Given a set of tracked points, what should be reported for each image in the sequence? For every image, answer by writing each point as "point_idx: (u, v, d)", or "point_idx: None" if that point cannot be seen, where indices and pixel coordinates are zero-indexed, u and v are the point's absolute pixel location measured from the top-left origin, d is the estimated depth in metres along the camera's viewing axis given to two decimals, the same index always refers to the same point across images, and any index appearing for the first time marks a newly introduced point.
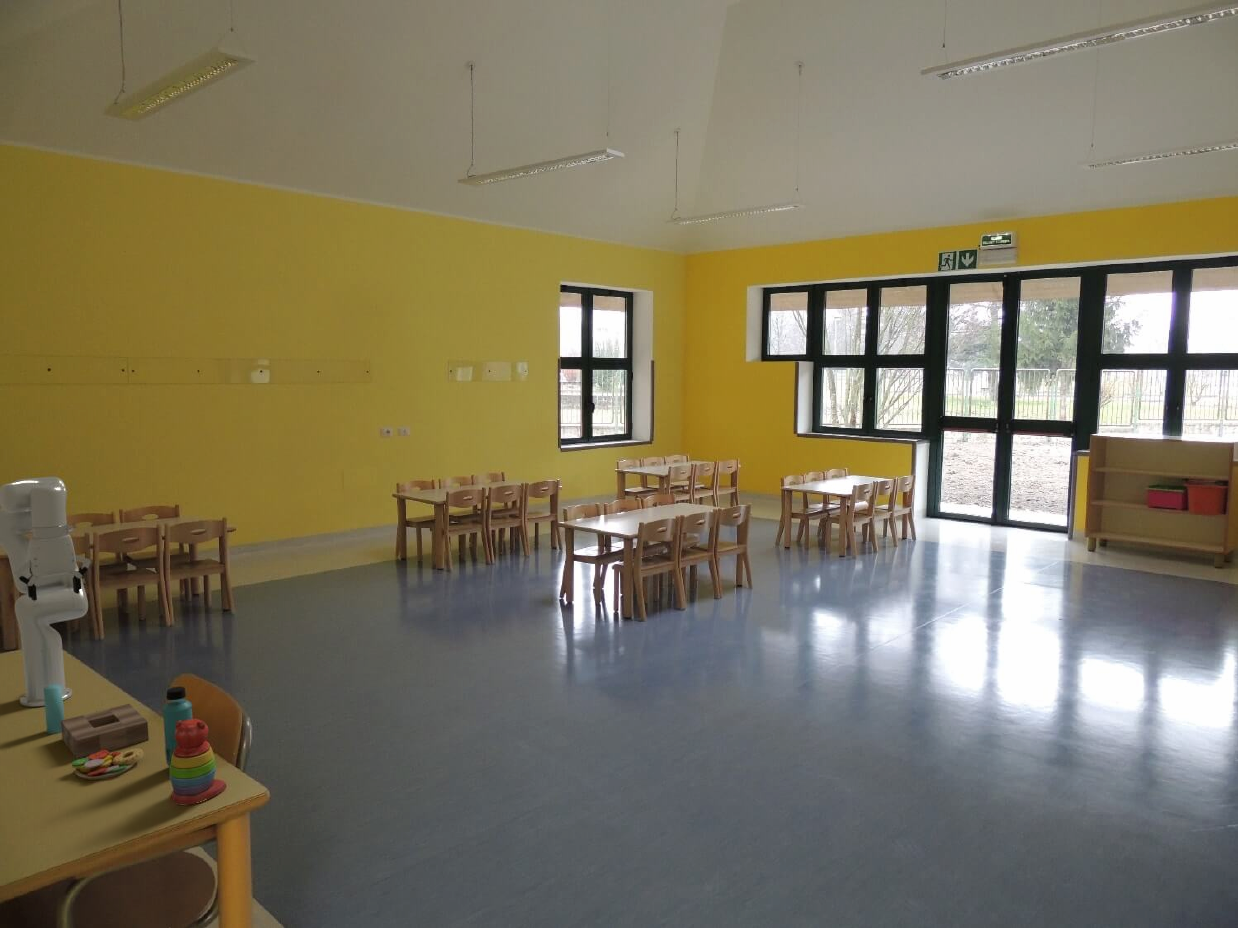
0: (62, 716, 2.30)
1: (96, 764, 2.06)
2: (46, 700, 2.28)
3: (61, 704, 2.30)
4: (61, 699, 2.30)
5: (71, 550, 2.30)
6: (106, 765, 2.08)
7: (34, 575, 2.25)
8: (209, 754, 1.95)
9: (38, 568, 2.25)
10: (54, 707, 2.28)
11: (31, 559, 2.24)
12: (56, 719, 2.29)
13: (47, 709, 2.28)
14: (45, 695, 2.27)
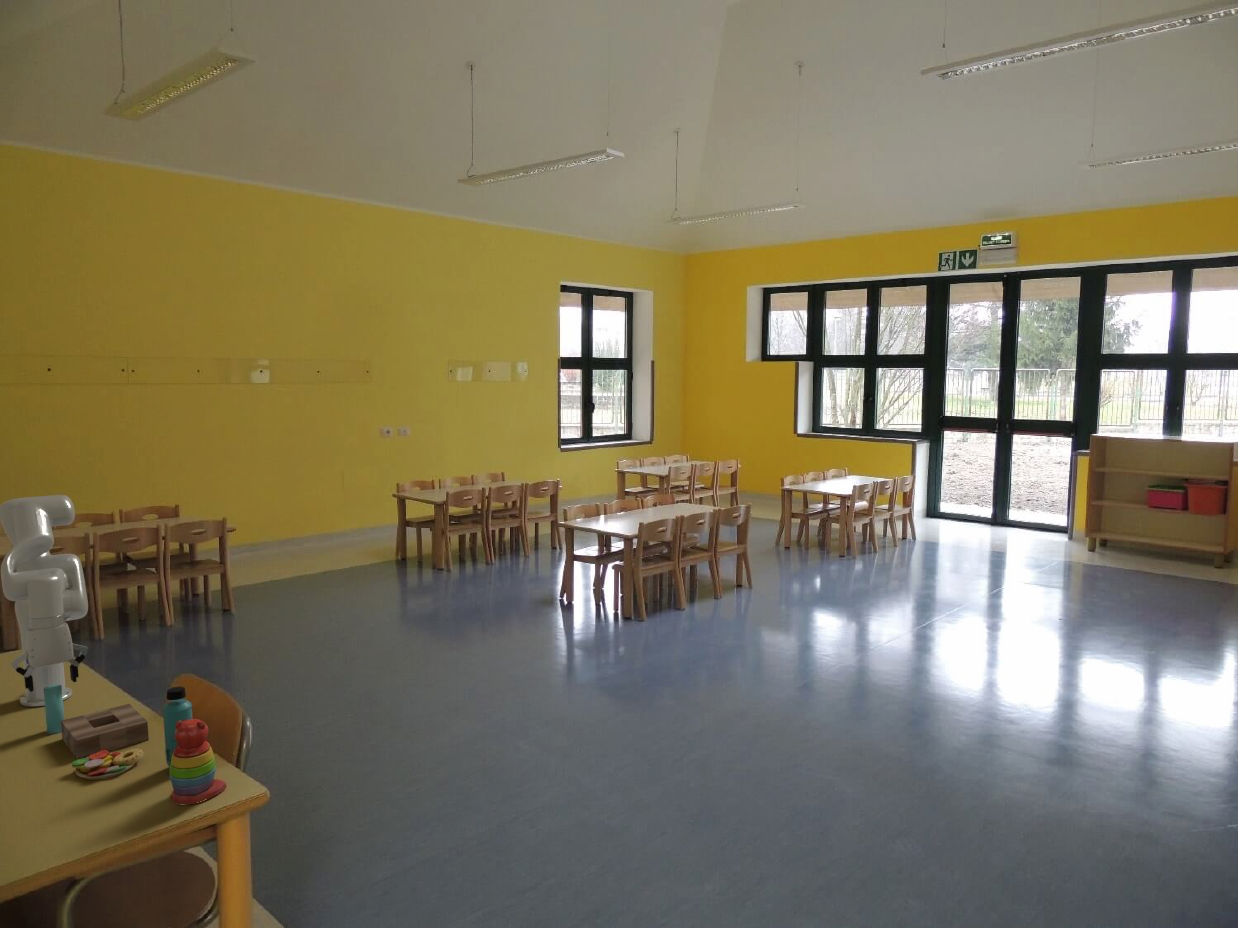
0: (62, 716, 2.30)
1: (96, 764, 2.06)
2: (46, 700, 2.28)
3: (61, 704, 2.30)
4: (61, 699, 2.30)
5: (68, 639, 2.28)
6: (106, 765, 2.08)
7: (31, 666, 2.23)
8: (209, 754, 1.95)
9: (35, 659, 2.23)
10: (54, 707, 2.28)
11: (28, 650, 2.23)
12: (56, 719, 2.29)
13: (47, 709, 2.28)
14: (45, 695, 2.27)
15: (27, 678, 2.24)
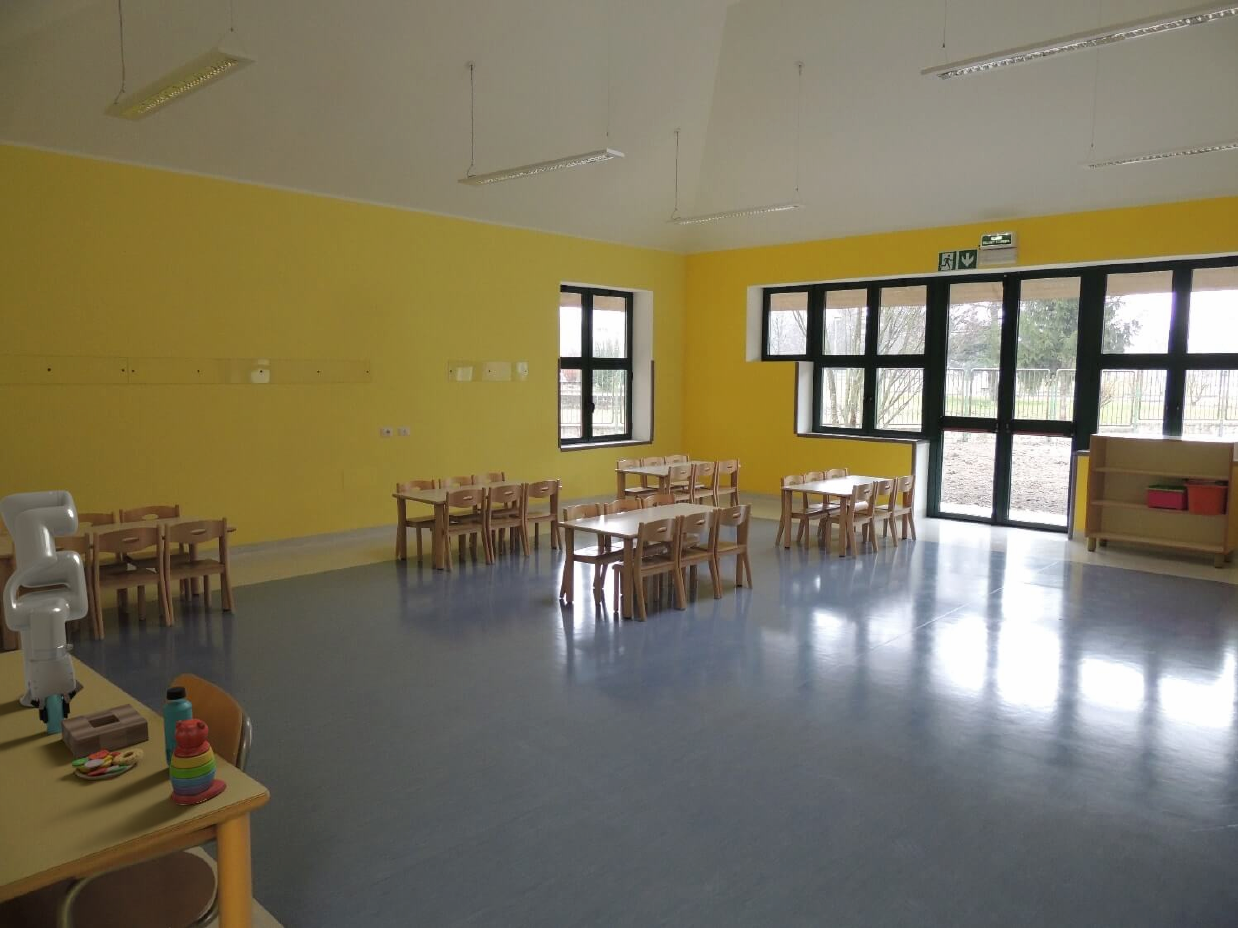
0: (62, 716, 2.30)
1: (96, 764, 2.06)
2: (46, 700, 2.28)
3: (61, 704, 2.30)
4: (61, 699, 2.30)
5: (70, 669, 2.30)
6: (106, 765, 2.08)
7: (33, 697, 2.25)
8: (209, 754, 1.95)
9: (37, 690, 2.25)
10: (54, 707, 2.28)
11: (30, 681, 2.24)
12: (56, 719, 2.29)
13: (47, 709, 2.28)
14: None
15: (41, 710, 2.27)
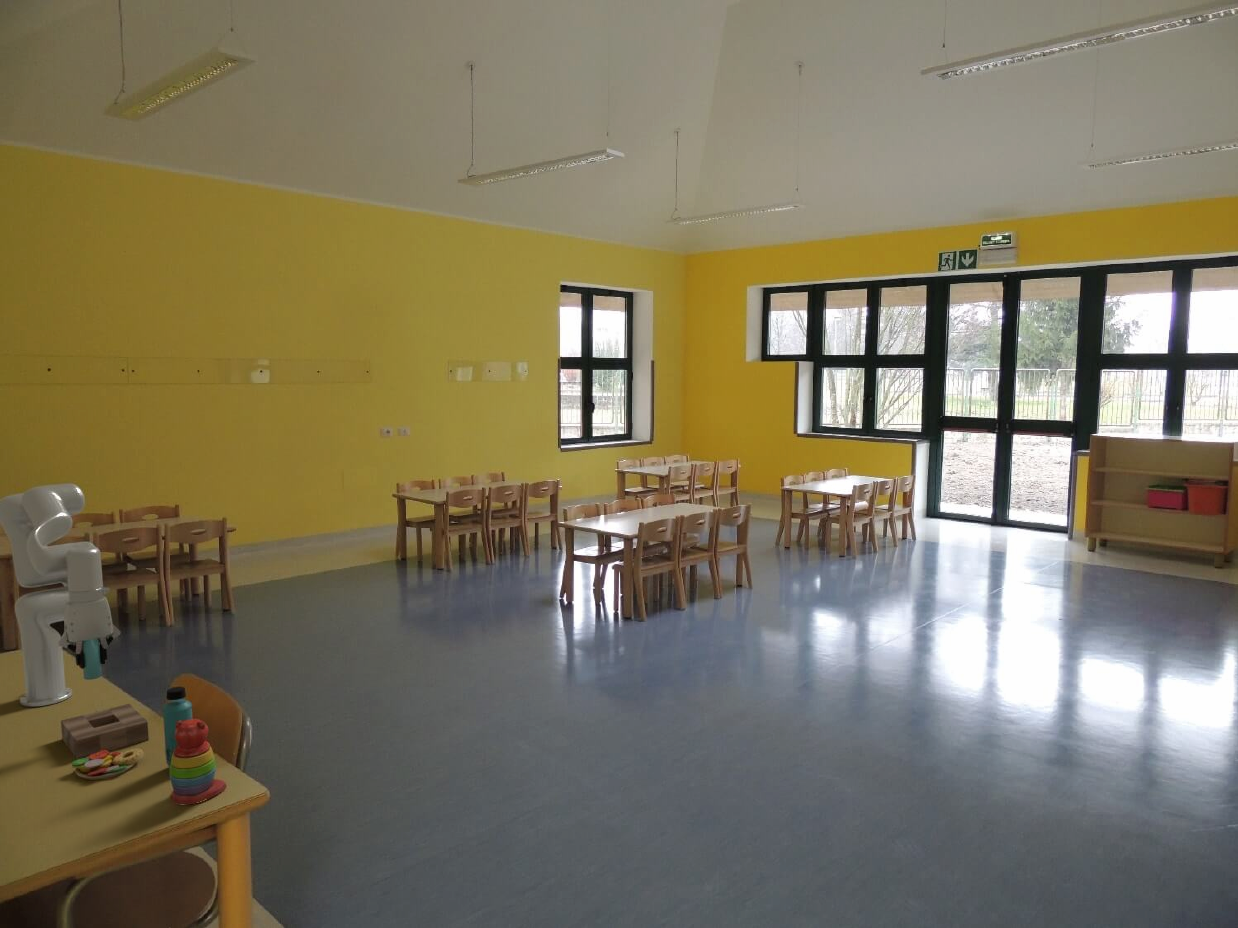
0: (99, 662, 2.23)
1: (96, 764, 2.06)
2: (83, 644, 2.21)
3: (98, 649, 2.23)
4: (98, 644, 2.23)
5: (107, 613, 2.23)
6: (106, 765, 2.08)
7: (70, 640, 2.18)
8: (209, 754, 1.95)
9: (74, 633, 2.18)
10: (91, 652, 2.21)
11: (67, 624, 2.18)
12: (93, 664, 2.22)
13: (84, 654, 2.21)
14: None
15: (78, 655, 2.21)
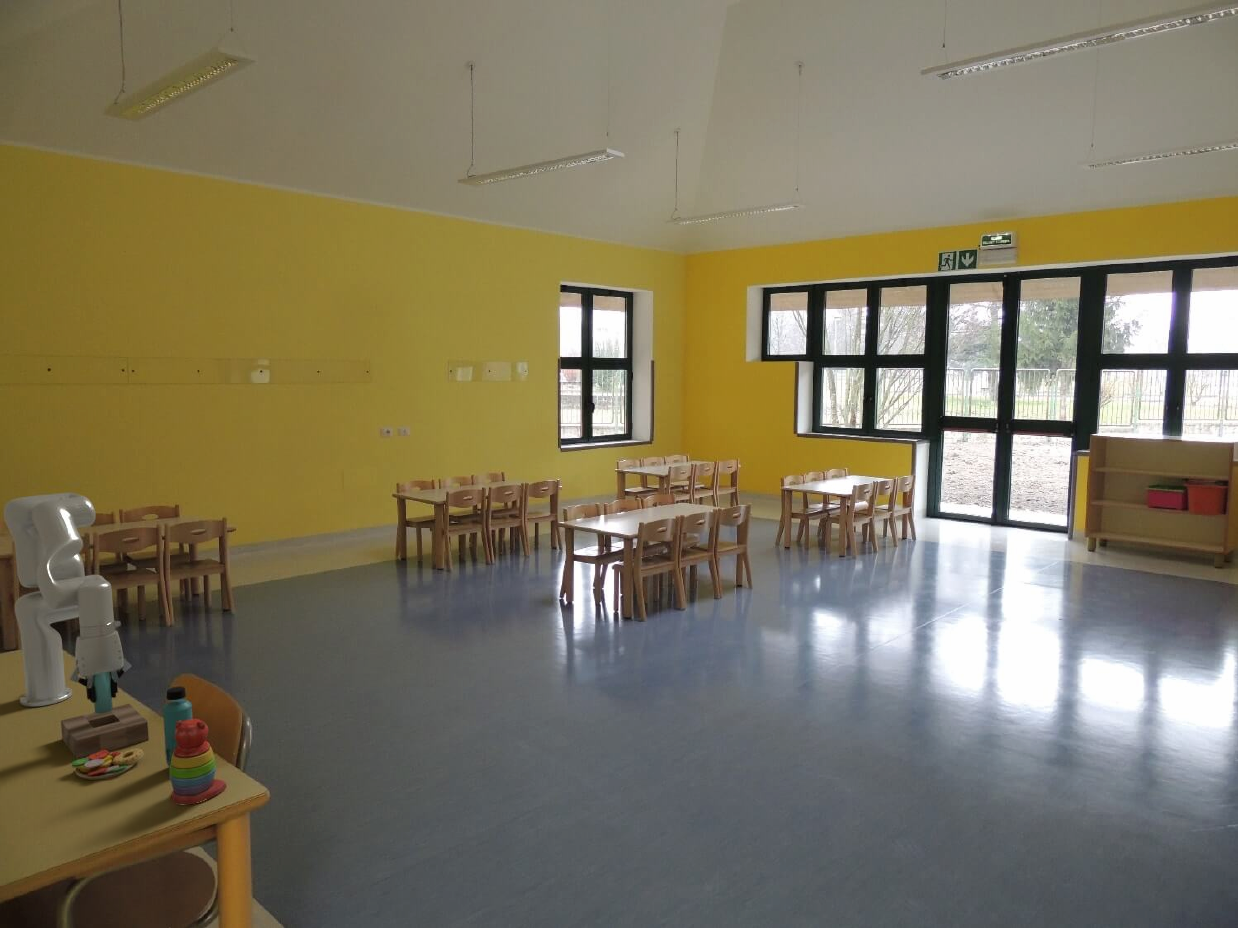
0: (110, 695, 2.24)
1: (96, 764, 2.06)
2: (94, 678, 2.21)
3: (109, 683, 2.23)
4: (109, 678, 2.23)
5: (118, 647, 2.23)
6: (106, 765, 2.08)
7: (81, 675, 2.19)
8: (209, 754, 1.95)
9: (85, 668, 2.19)
10: (102, 686, 2.22)
11: (78, 659, 2.18)
12: (104, 698, 2.22)
13: (95, 688, 2.21)
14: None
15: (89, 689, 2.21)
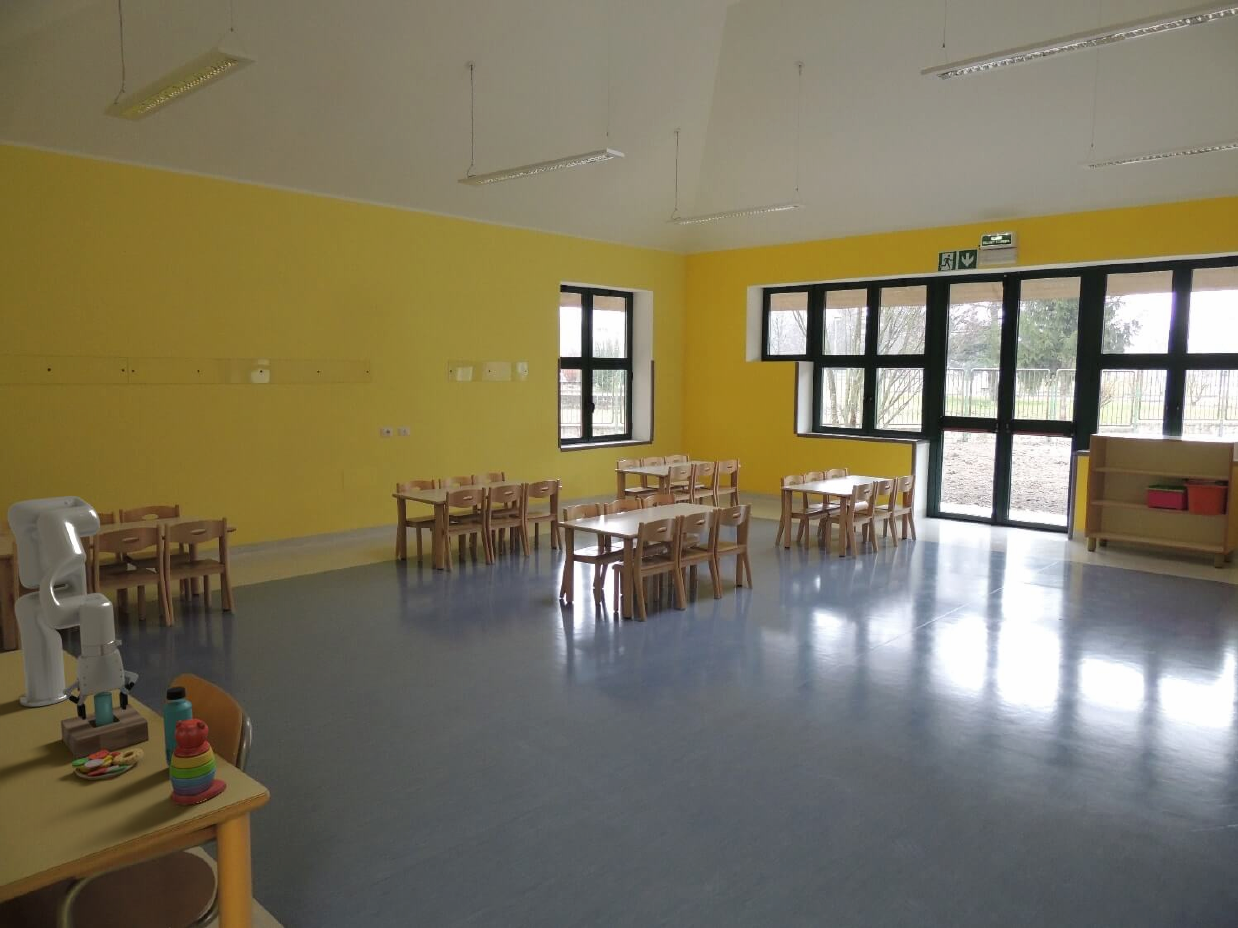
0: None
1: (96, 764, 2.06)
2: (96, 708, 2.22)
3: (111, 712, 2.24)
4: (111, 707, 2.25)
5: (119, 666, 2.24)
6: (106, 765, 2.08)
7: (83, 694, 2.19)
8: (209, 754, 1.95)
9: (87, 687, 2.19)
10: (104, 716, 2.23)
11: (80, 678, 2.19)
12: None
13: (97, 718, 2.23)
14: (95, 703, 2.22)
15: (80, 706, 2.20)
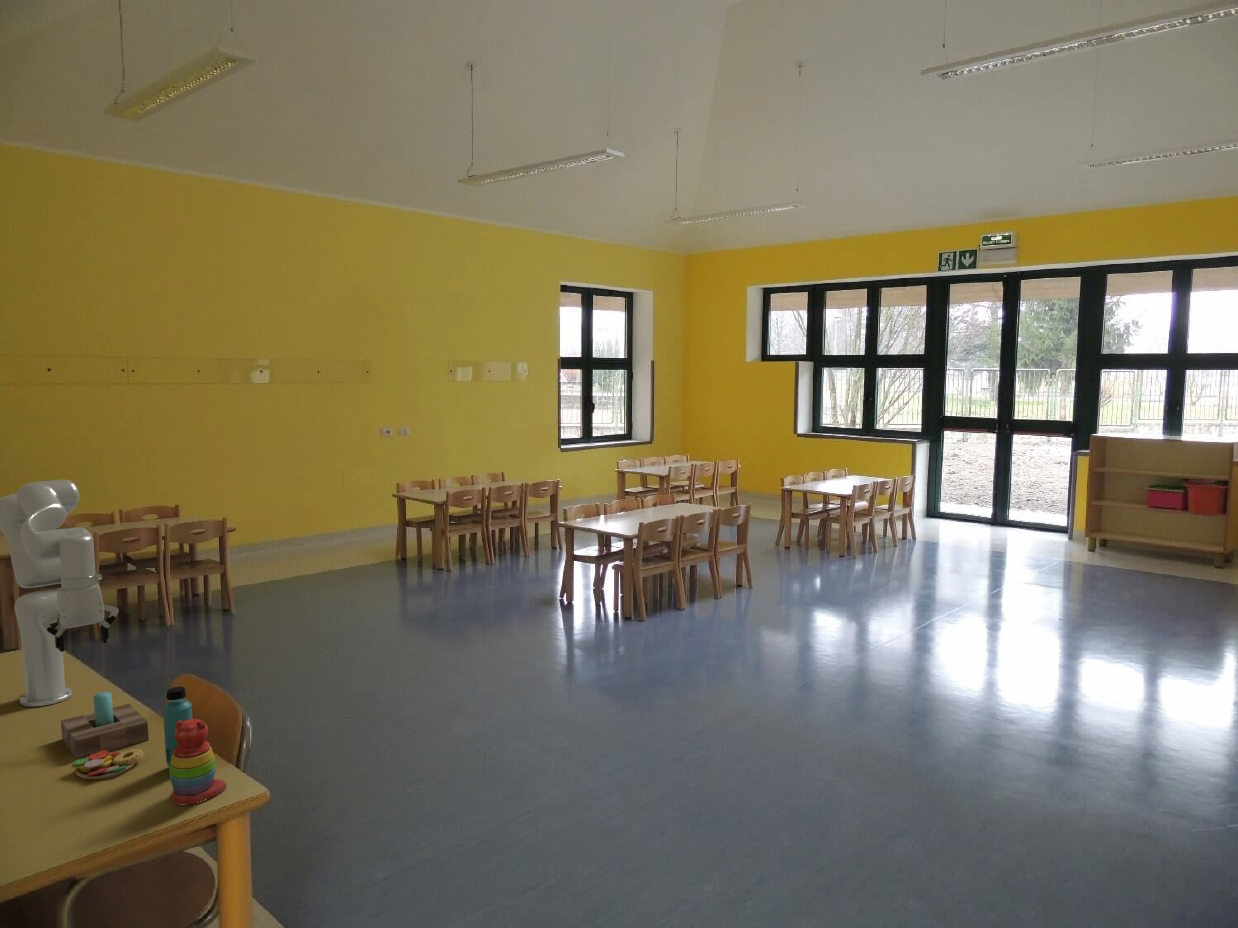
0: None
1: (96, 764, 2.06)
2: (96, 708, 2.22)
3: (111, 712, 2.24)
4: (111, 707, 2.25)
5: (99, 600, 2.25)
6: (106, 765, 2.08)
7: (62, 626, 2.20)
8: (209, 754, 1.95)
9: (66, 619, 2.20)
10: (104, 716, 2.23)
11: (59, 610, 2.19)
12: None
13: (97, 718, 2.23)
14: (95, 703, 2.22)
15: (58, 638, 2.20)
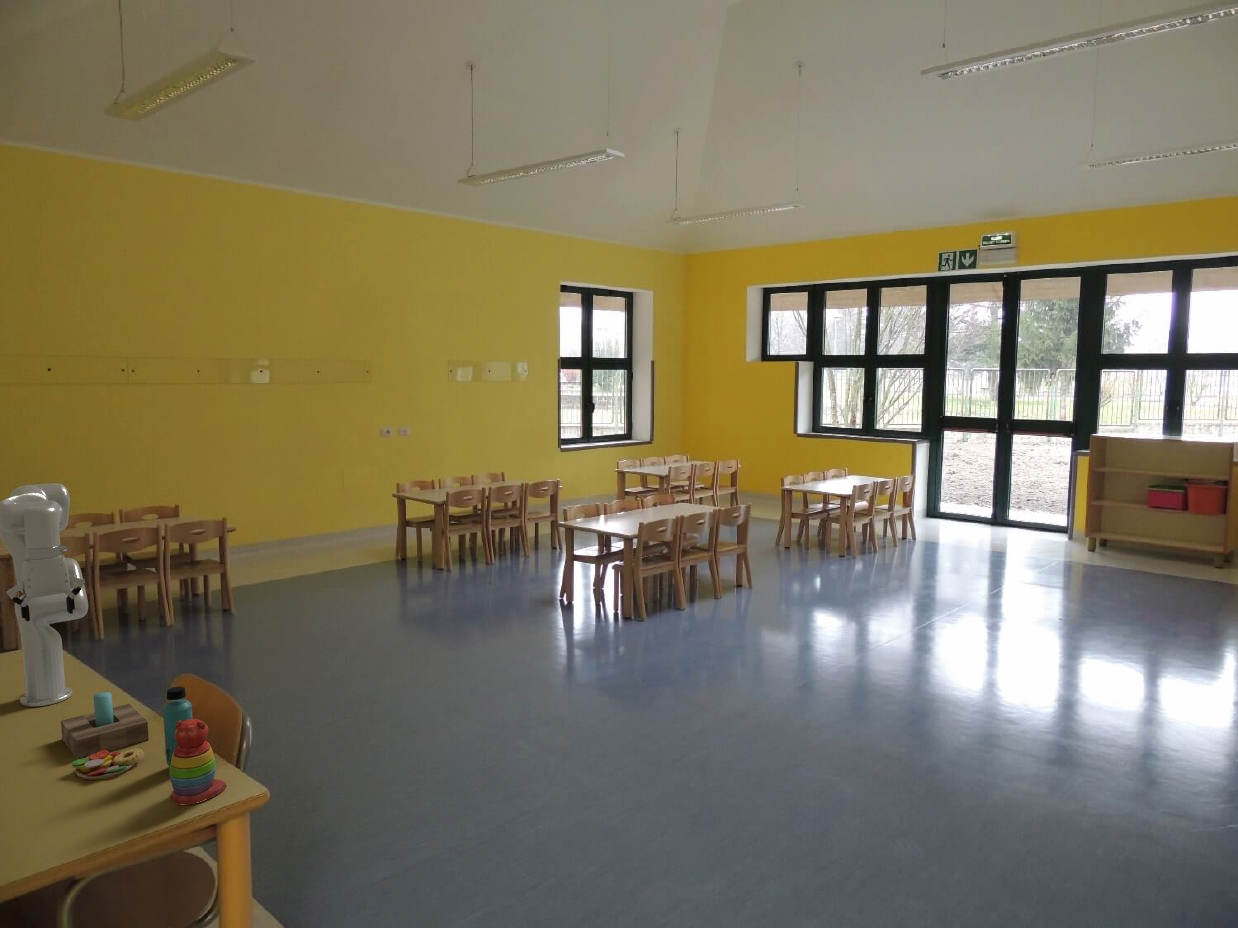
0: None
1: (96, 764, 2.06)
2: (96, 708, 2.22)
3: (111, 712, 2.24)
4: (111, 707, 2.25)
5: (65, 571, 2.29)
6: (106, 765, 2.08)
7: (27, 596, 2.24)
8: (209, 754, 1.95)
9: (31, 589, 2.25)
10: (104, 716, 2.23)
11: (24, 580, 2.24)
12: None
13: (97, 718, 2.23)
14: (95, 703, 2.22)
15: (24, 608, 2.25)
